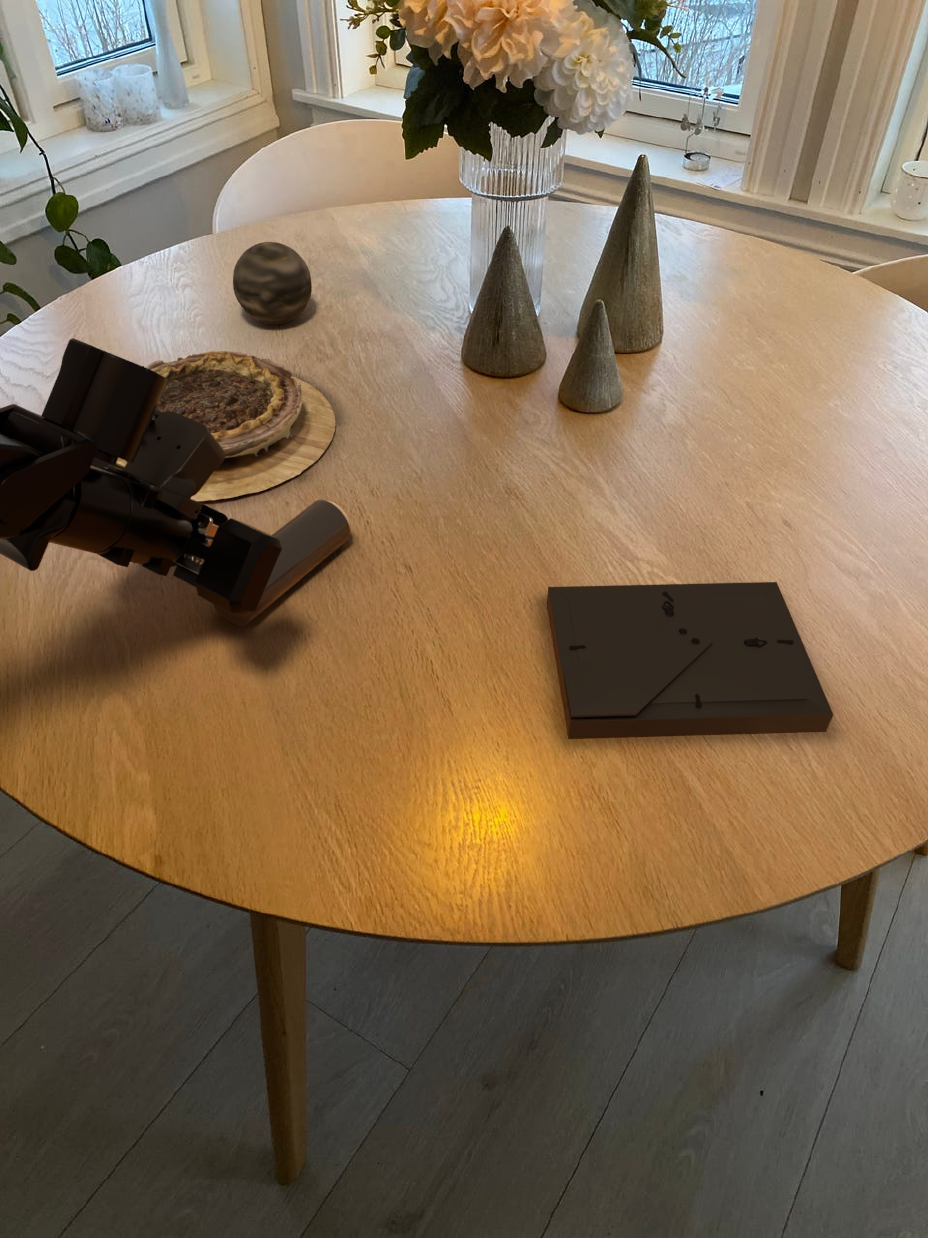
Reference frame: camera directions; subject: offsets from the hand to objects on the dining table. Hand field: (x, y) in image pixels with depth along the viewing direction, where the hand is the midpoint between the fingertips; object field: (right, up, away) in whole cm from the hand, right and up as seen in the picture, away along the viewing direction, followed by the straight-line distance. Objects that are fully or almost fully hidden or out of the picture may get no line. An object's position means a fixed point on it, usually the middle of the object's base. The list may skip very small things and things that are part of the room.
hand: (234, 552), depth 80 cm
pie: (-9, +15, +26) cm, 32 cm away
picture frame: (+38, -10, +1) cm, 39 cm away
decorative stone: (-5, +34, +46) cm, 57 cm away
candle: (-1, -4, +3) cm, 5 cm away
